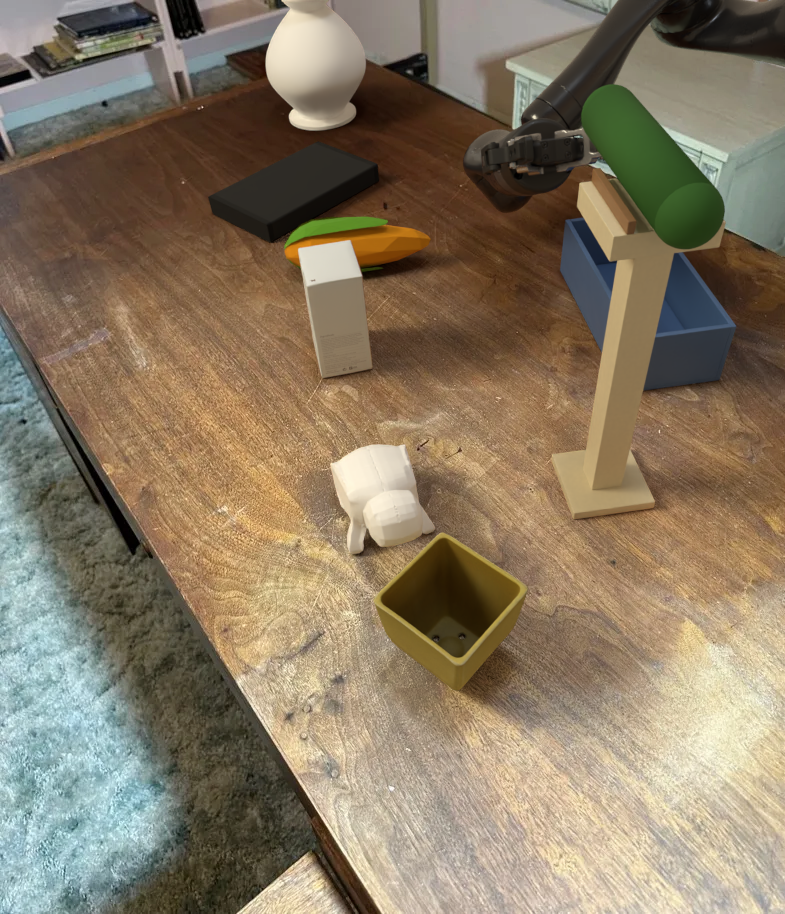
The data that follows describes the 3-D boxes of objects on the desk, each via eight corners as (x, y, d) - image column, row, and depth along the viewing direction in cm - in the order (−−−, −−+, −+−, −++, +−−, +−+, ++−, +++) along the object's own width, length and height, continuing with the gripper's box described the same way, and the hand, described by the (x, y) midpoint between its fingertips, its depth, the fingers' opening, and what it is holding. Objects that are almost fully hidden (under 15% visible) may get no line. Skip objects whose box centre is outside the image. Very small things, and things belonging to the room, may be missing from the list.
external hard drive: (212, 213, 120) (207, 195, 118) (319, 157, 131) (317, 140, 128) (270, 243, 113) (266, 224, 110) (379, 181, 123) (378, 163, 121)
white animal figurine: (334, 514, 80) (363, 591, 67) (317, 441, 76) (344, 508, 63) (412, 493, 81) (456, 564, 68) (398, 420, 78) (442, 481, 64)
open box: (641, 259, 103) (651, 208, 98) (719, 380, 86) (736, 326, 80) (559, 270, 103) (565, 219, 97) (622, 393, 85) (632, 340, 80)
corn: (280, 208, 104) (427, 196, 103) (290, 255, 110) (429, 244, 109) (277, 240, 99) (431, 227, 99) (288, 288, 105) (433, 276, 104)
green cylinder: (571, 133, 64) (577, 79, 61) (623, 127, 64) (631, 72, 61) (661, 266, 50) (674, 204, 47) (727, 257, 50) (744, 195, 47)
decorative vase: (335, 144, 134) (314, -18, 116) (256, 127, 141) (225, -28, 123) (388, 104, 144) (377, -50, 126) (311, 90, 151) (291, -58, 133)
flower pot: (524, 646, 65) (531, 586, 58) (460, 722, 61) (460, 667, 54) (444, 590, 69) (442, 529, 63) (379, 658, 65) (369, 599, 59)
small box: (373, 369, 91) (363, 276, 82) (321, 379, 91) (304, 286, 81) (362, 329, 97) (351, 238, 87) (312, 338, 96) (296, 247, 87)
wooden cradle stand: (623, 443, 80) (684, 156, 58) (653, 508, 74) (736, 216, 52) (548, 453, 80) (580, 169, 57) (572, 519, 74) (620, 231, 51)
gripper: (595, 187, 87) (651, 176, 71) (471, 202, 86) (502, 195, 71) (591, 116, 85) (649, 88, 69) (465, 131, 84) (495, 107, 69)
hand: (574, 142), depth 70 cm, fingers open, 8 cm apart
